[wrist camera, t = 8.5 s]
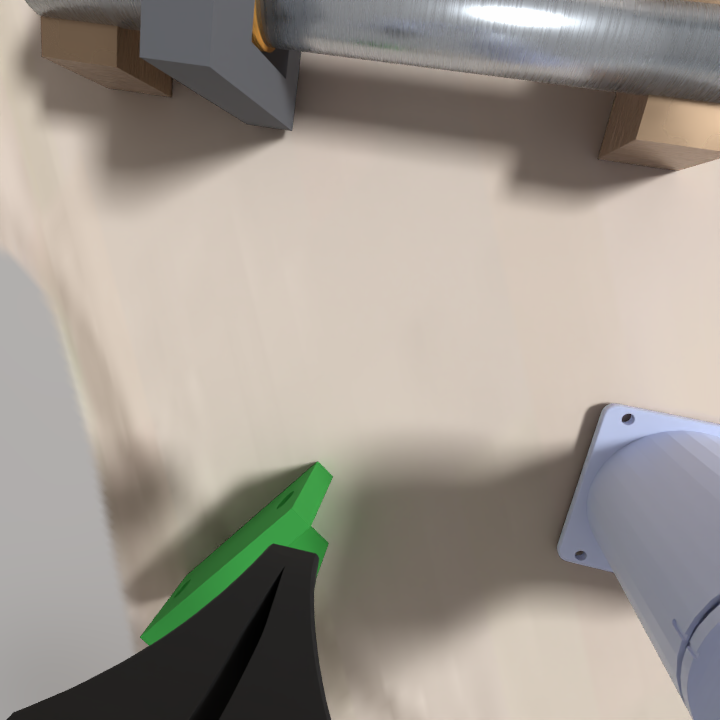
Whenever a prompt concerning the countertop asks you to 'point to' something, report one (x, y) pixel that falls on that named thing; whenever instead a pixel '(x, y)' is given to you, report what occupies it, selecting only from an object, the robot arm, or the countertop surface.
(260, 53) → the collar
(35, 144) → the countertop surface
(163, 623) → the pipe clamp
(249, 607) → the robot arm
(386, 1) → the pipe rig
